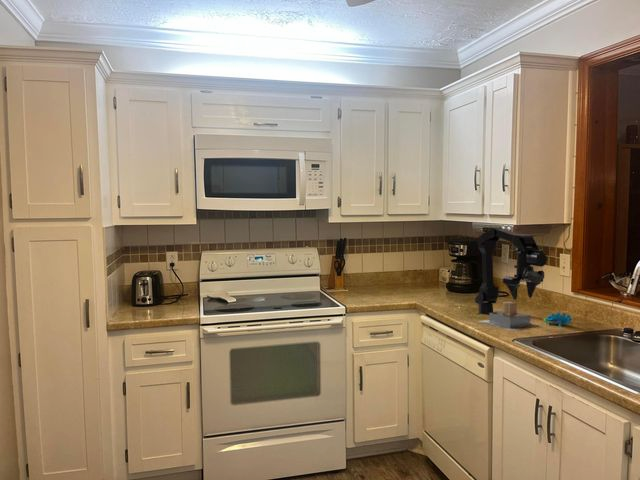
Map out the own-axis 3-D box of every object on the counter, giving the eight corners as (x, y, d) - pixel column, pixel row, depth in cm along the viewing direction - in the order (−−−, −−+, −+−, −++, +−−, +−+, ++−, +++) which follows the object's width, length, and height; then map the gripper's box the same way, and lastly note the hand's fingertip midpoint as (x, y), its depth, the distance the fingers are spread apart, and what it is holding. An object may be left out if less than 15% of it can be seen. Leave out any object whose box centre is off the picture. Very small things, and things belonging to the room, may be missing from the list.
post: (502, 323, 214) (502, 302, 214) (509, 322, 216) (509, 301, 215) (509, 325, 211) (509, 304, 210) (516, 324, 212) (517, 303, 212)
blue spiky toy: (572, 323, 212) (570, 310, 205) (573, 334, 208) (572, 322, 201) (544, 324, 216) (542, 311, 210) (546, 335, 213) (543, 323, 206)
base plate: (477, 323, 219) (477, 321, 219) (507, 319, 226) (507, 317, 226) (511, 334, 201) (511, 331, 200) (542, 329, 208) (542, 326, 208)
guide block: (489, 322, 216) (489, 312, 216) (509, 319, 221) (509, 309, 221) (509, 328, 205) (510, 317, 205) (530, 325, 210) (530, 314, 210)
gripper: (523, 267, 198) (522, 304, 199) (554, 264, 206) (553, 300, 207) (502, 264, 208) (501, 299, 209) (533, 261, 216) (531, 295, 217)
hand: (522, 298), depth 210 cm, fingers open, 9 cm apart
